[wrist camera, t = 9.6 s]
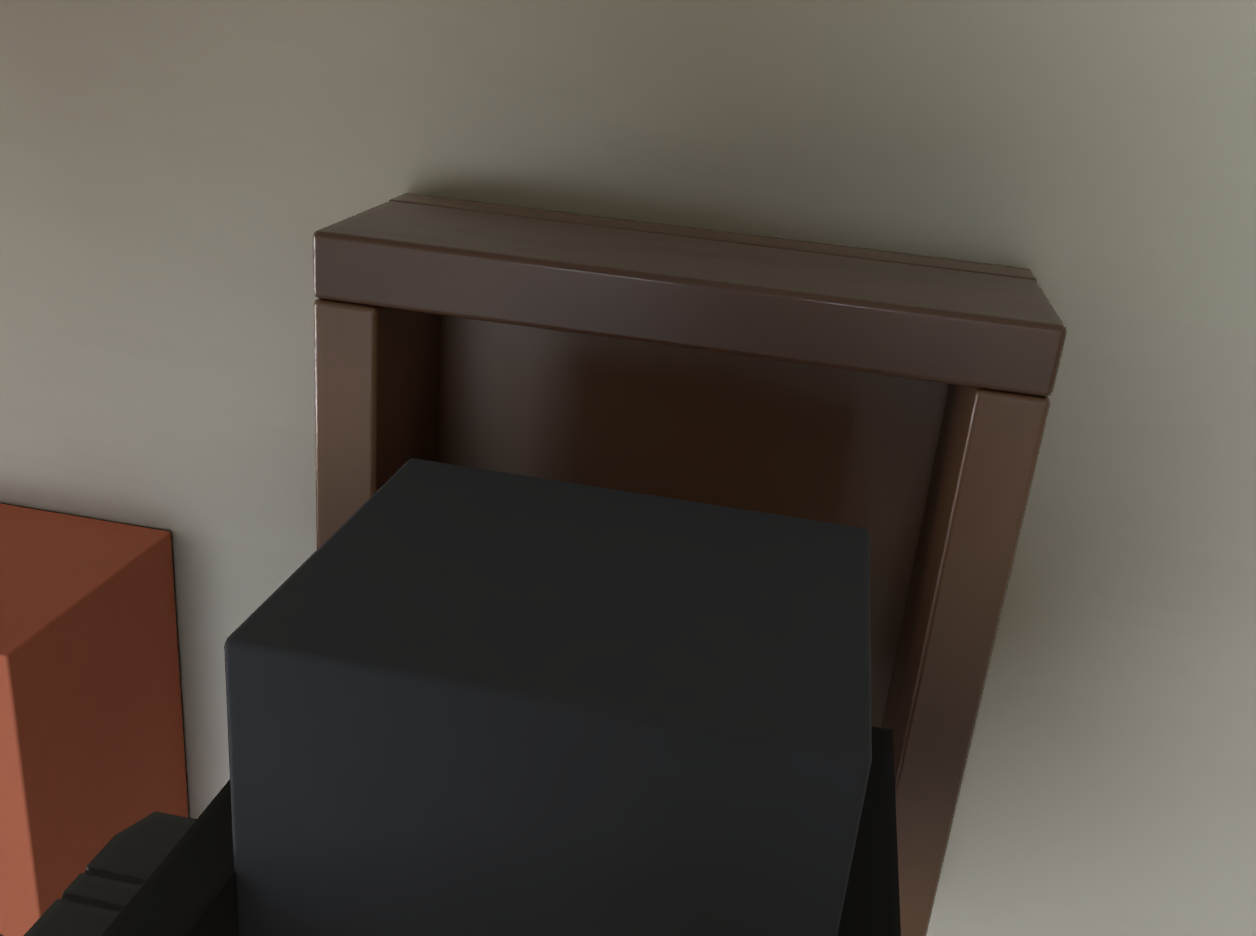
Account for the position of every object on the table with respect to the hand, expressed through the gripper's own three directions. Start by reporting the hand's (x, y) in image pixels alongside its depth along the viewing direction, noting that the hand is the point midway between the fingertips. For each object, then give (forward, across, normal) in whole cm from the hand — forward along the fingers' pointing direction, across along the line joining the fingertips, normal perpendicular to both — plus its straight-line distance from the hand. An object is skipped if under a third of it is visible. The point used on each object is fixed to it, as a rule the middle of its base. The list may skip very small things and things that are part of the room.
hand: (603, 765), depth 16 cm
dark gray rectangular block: (0, 0, 0) cm, 0 cm away
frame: (+6, 0, 0) cm, 6 cm away
